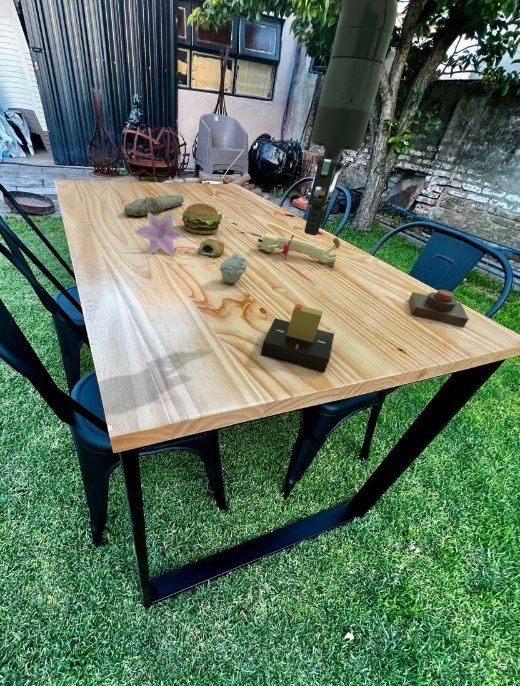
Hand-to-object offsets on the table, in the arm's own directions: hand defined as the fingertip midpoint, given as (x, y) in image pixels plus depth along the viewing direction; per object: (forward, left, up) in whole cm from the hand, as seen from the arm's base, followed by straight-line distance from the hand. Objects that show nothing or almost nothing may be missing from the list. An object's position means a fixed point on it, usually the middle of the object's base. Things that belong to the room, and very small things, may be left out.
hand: (314, 228), depth 60 cm
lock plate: (-3, +7, -20) cm, 21 cm away
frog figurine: (+18, -17, -20) cm, 32 cm away
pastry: (+30, -35, -20) cm, 50 cm away
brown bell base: (-33, -29, -20) cm, 48 cm away
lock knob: (-3, +7, -17) cm, 19 cm away
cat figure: (+7, -48, -20) cm, 52 cm away
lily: (+43, -27, -20) cm, 54 cm away
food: (+41, -54, -20) cm, 70 cm away
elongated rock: (+65, -68, -20) cm, 96 cm away
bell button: (-33, -29, -16) cm, 47 cm away
